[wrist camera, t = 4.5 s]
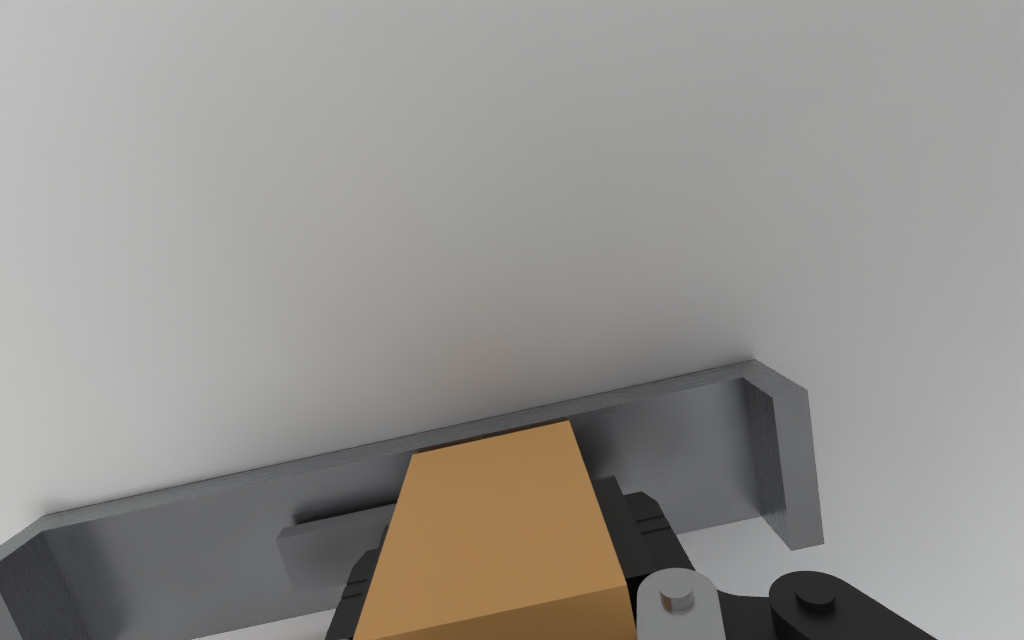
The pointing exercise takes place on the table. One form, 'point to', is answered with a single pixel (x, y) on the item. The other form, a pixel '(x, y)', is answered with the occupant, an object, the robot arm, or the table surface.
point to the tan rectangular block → (478, 548)
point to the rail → (378, 482)
